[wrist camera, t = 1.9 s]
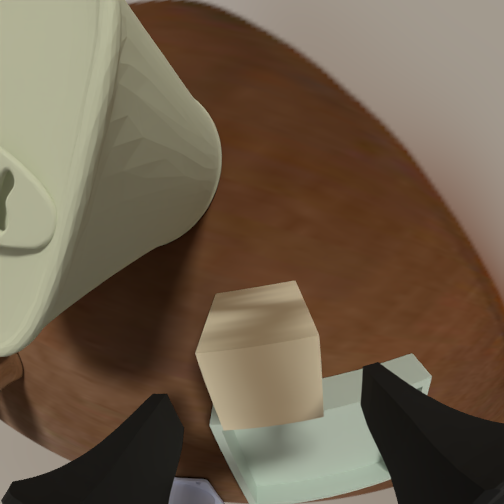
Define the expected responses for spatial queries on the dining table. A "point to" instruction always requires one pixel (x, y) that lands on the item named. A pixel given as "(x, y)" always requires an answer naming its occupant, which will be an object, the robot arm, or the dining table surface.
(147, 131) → the can
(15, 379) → the beer glass
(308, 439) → the bin
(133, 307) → the dining table surface
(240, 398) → the birch block
